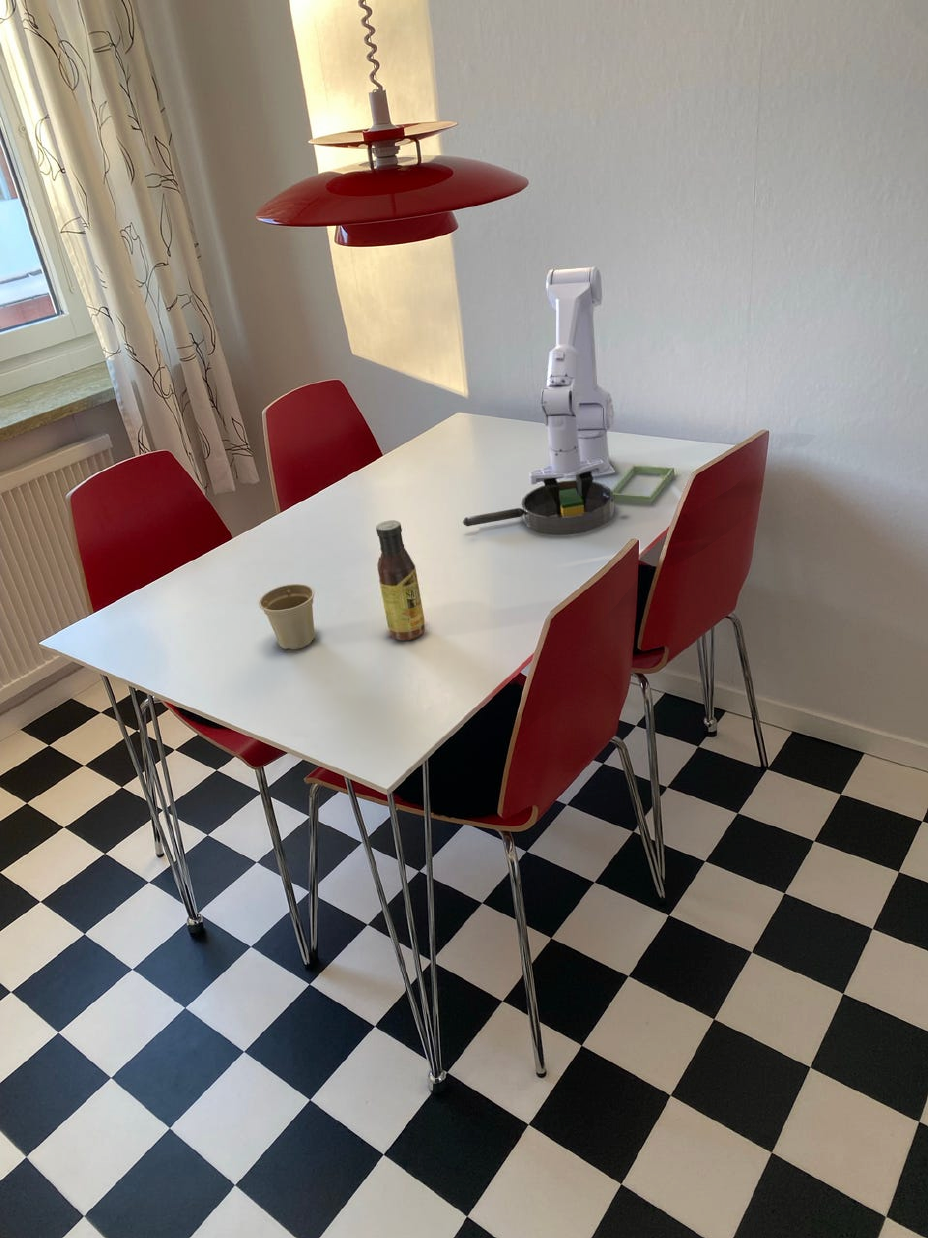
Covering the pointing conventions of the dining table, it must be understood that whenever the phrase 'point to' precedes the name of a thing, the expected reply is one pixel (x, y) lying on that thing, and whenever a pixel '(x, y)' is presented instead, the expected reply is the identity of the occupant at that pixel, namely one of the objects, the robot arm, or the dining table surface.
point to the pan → (546, 520)
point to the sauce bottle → (399, 584)
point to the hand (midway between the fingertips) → (570, 510)
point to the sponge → (570, 503)
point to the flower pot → (290, 614)
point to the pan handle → (493, 517)
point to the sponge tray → (662, 471)
